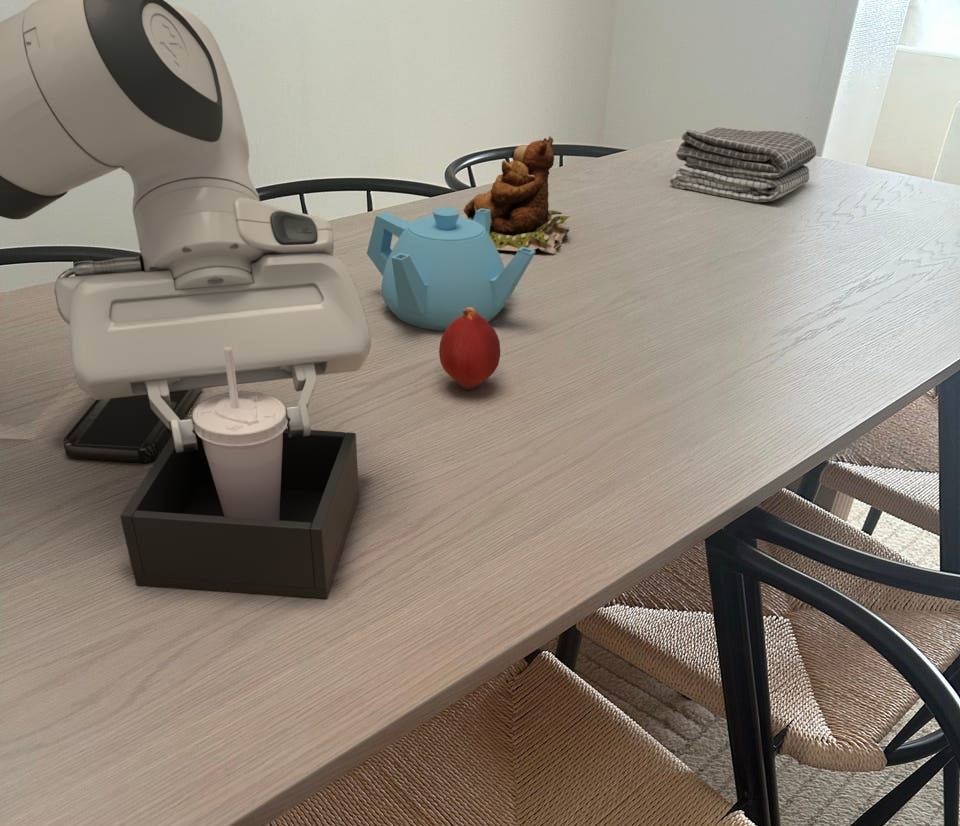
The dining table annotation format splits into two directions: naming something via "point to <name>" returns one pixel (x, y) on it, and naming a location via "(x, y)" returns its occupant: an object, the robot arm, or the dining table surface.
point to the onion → (469, 349)
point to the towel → (743, 163)
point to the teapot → (443, 267)
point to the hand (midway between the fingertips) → (244, 442)
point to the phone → (124, 428)
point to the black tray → (245, 522)
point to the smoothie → (243, 448)
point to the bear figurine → (522, 202)
